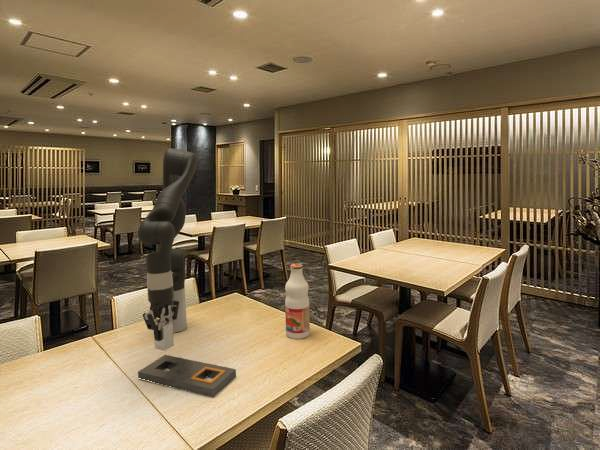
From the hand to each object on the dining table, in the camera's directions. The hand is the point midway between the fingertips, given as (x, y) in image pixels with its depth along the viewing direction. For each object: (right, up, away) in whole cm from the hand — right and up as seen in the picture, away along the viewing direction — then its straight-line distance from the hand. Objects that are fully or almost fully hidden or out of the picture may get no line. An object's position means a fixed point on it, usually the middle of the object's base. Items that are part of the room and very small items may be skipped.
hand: (163, 337), depth 121 cm
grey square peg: (0, -3, +1) cm, 3 cm away
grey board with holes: (+8, -12, -1) cm, 15 cm away
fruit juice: (+42, -8, +30) cm, 52 cm away
